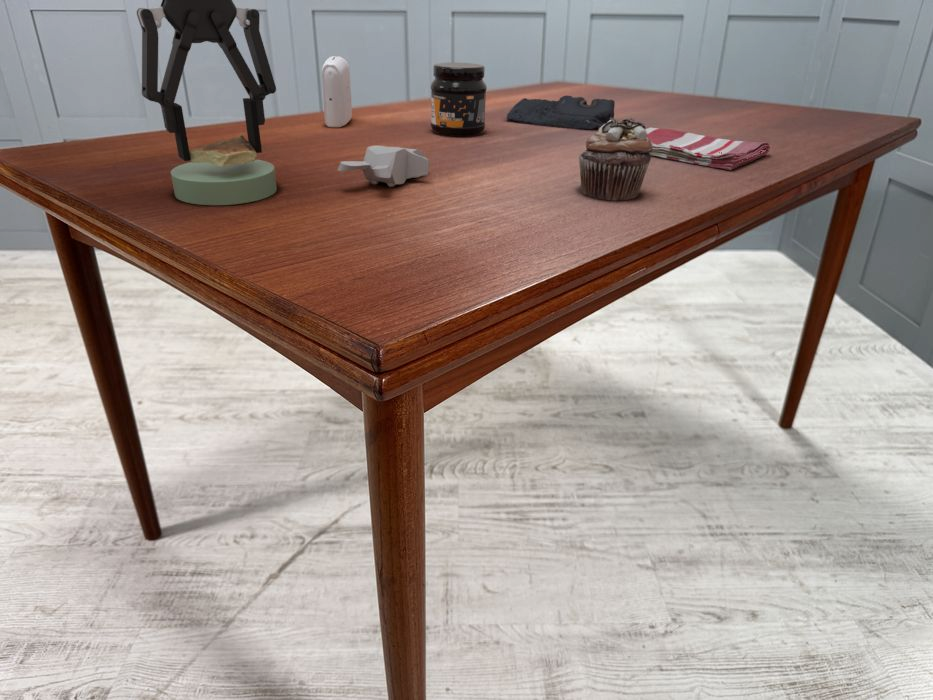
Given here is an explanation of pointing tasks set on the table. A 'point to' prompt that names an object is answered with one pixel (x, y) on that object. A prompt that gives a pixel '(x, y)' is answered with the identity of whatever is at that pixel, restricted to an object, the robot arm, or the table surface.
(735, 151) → the dish towel
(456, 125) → the supplement container
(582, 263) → the table surface
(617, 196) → the cupcake
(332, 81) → the photo printer
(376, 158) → the grey faceted piece
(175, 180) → the disc
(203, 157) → the shard
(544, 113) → the dark slate chunk
